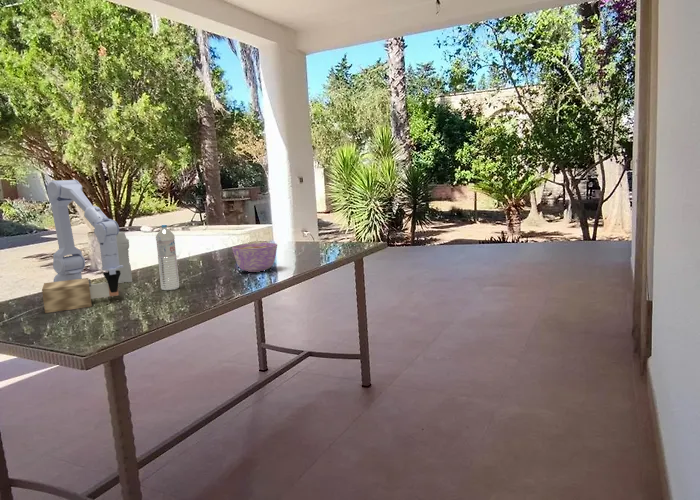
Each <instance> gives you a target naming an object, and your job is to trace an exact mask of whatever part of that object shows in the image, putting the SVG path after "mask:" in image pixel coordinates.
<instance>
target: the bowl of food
mask: <svg viewBox="0 0 700 500" xmlns="http://www.w3.org/2000/svg"><path fill="white" fill-rule="evenodd" d="M231 250H232V252H233V256H234V259H235V261H236V264H237V266H238V268H239V269H241V270H242V271H244V272H245V271H246V272H247V271H248V272H260V271H264V270H266V271H267V270H268V269H270V268H271V267H272V266H273V265H274V264H275V260H276V255H277V250H278V244H277V243H275V242H257V243H246V244H238V245H235V246H232V247H231ZM248 272H247V273H248ZM264 272H265V271H264ZM260 273H261V272H260Z"/></svg>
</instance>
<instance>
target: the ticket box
mask: <svg viewBox="0 0 700 500" xmlns="http://www.w3.org/2000/svg"><path fill="white" fill-rule="evenodd" d="M91 284H92V282H91V279H89V277H86V278H85V277H84V278H82V279H75V280H67V281H58V282H53V281H51V282H44V283H43V285H42V288H41V292H42V293H41V294H42V300H43V307H44V314H48V313H55V312H62V311H63V312H64V311H69V310H77V309H83V308H91V307H93V305H92V299H91V296H90V288H89V287H91Z"/></svg>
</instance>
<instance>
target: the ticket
mask: <svg viewBox="0 0 700 500" xmlns="http://www.w3.org/2000/svg"><path fill="white" fill-rule="evenodd" d="M89 288H90V296H91V300H93V299H100V298H107V297H116V296H119V290H118V291H117V292H112V293H111V291H110V288H109V285H108V282H98V283H91V287H89Z"/></svg>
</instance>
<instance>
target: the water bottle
mask: <svg viewBox="0 0 700 500" xmlns="http://www.w3.org/2000/svg"><path fill="white" fill-rule="evenodd" d="M167 227H168V226H167V224H163V225H162V224H161V229H160V230H159V231H158V232H157V233H156V235H155V241H156V249H157V261H158V272H159V279H160V281H159V282H160V289H161V291H174V290H178V289H180V277H179V270H178V259H177V258H178V257H177V251H176V241H175V239H176V238H175V234H174V233H173V232H172V231H171V230H169V229H168V228H167Z"/></svg>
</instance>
